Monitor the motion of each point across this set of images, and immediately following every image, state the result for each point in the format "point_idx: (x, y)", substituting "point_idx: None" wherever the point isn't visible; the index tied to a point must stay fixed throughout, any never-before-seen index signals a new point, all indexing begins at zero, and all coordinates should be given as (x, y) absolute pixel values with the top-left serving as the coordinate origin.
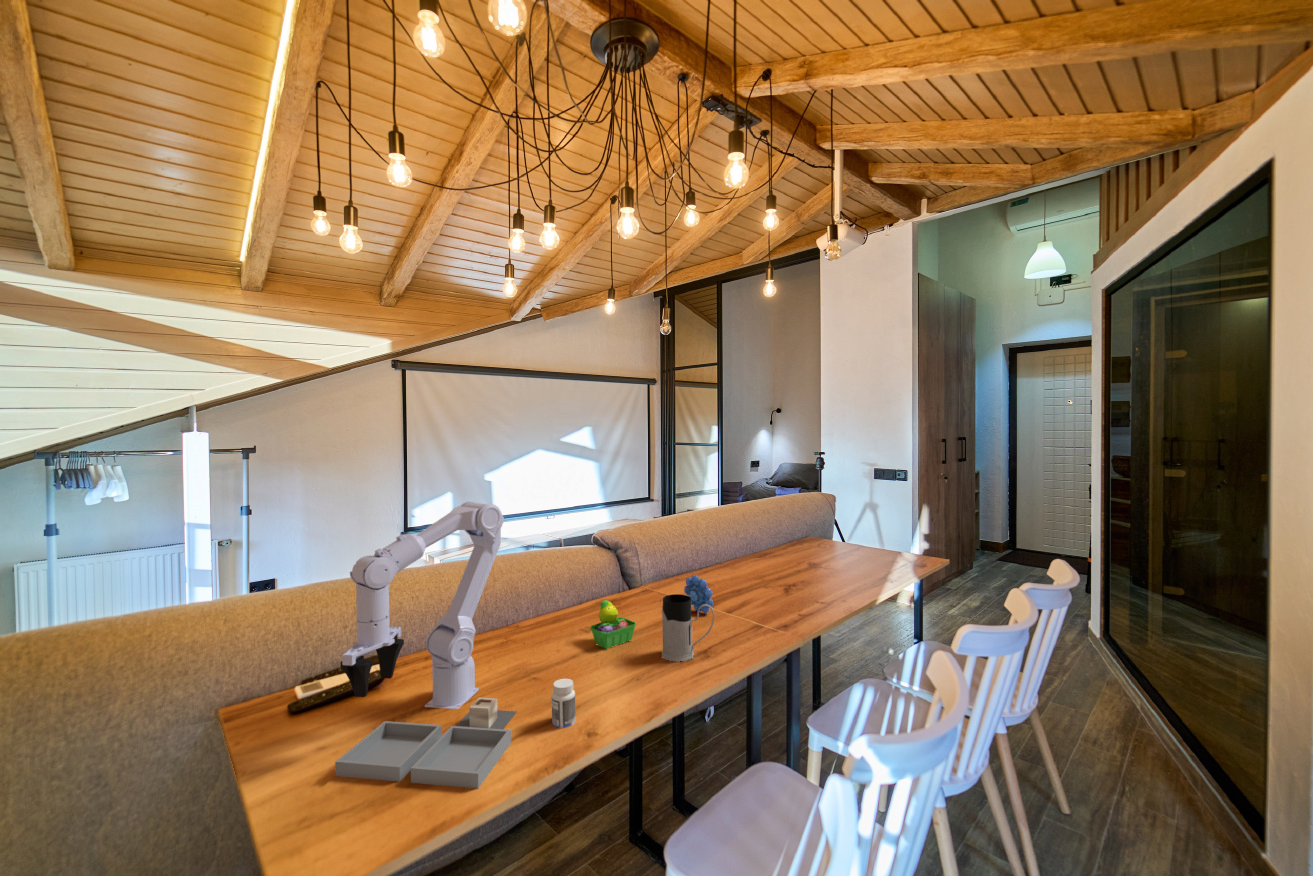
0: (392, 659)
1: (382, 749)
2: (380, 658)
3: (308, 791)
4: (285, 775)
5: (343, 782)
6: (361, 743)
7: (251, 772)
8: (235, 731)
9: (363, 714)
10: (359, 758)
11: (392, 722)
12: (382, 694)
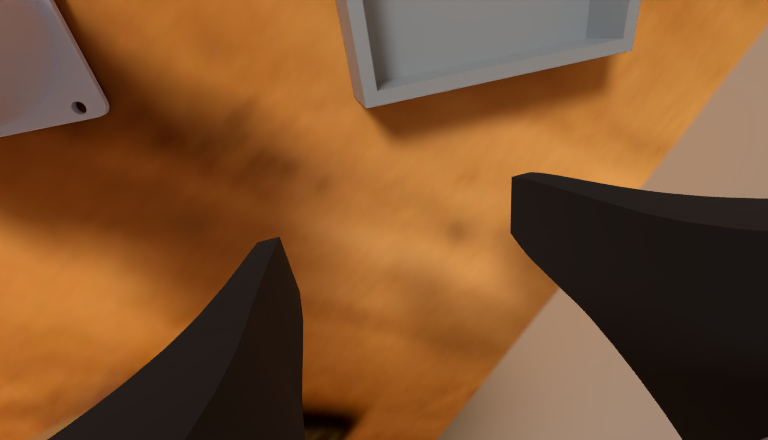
0: (256, 330)
1: (448, 9)
2: (298, 422)
3: (630, 79)
4: None
5: None
6: (522, 59)
7: None
8: (440, 432)
9: None
10: (509, 52)
11: (364, 61)
12: (144, 349)
